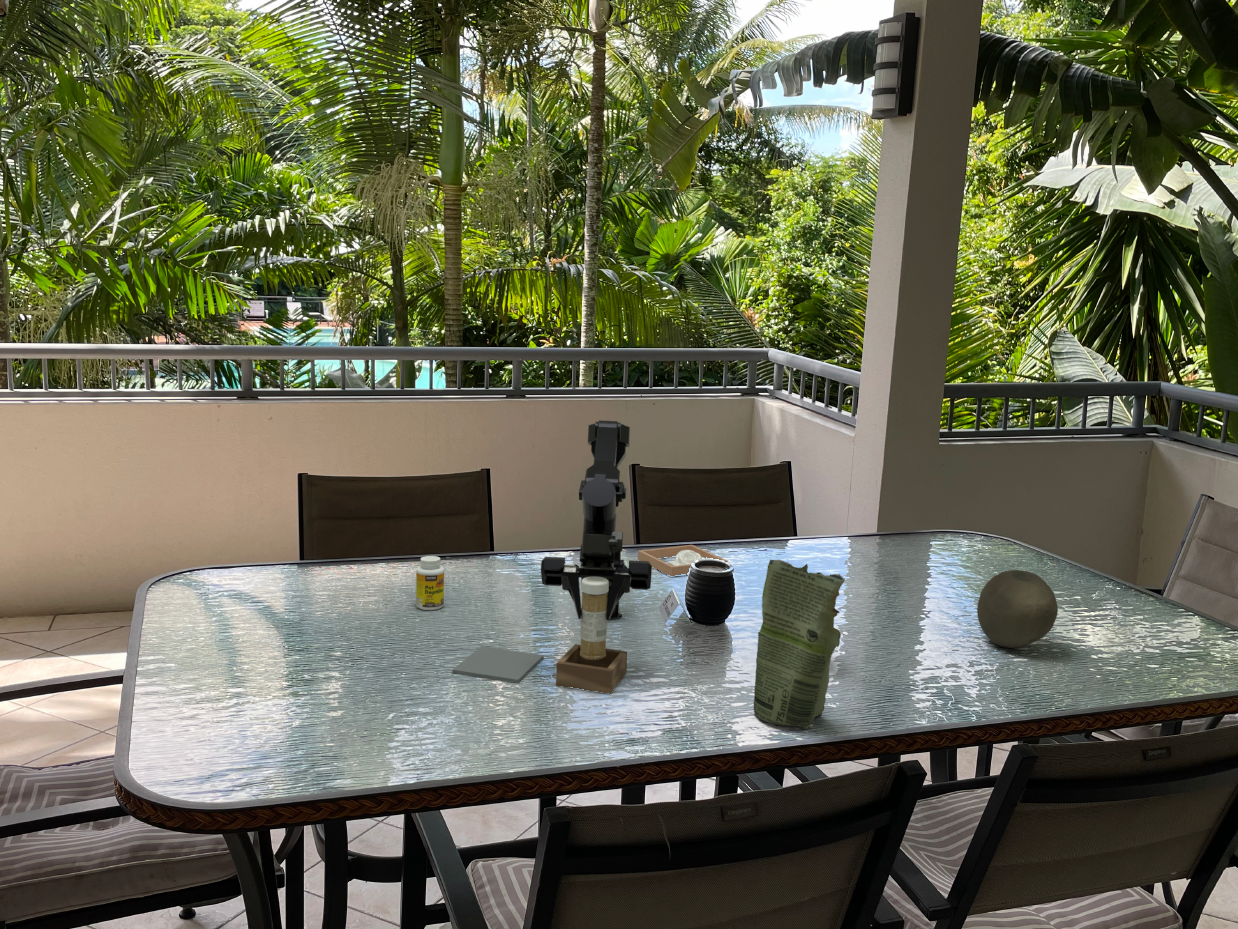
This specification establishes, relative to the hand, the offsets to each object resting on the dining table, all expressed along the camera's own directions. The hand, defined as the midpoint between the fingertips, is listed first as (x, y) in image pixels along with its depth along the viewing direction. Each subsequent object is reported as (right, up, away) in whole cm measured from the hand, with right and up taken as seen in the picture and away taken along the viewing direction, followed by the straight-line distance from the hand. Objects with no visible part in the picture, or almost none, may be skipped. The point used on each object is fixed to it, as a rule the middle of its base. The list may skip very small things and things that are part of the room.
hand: (593, 618), depth 165 cm
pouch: (+31, -14, -9) cm, 35 cm away
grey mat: (-17, -9, +8) cm, 21 cm away
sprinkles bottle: (0, -7, +3) cm, 7 cm away
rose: (+21, 0, +73) cm, 76 cm away
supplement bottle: (-34, -4, +38) cm, 51 cm away
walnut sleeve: (0, -11, +3) cm, 11 cm away
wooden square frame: (+19, +1, +75) cm, 77 cm away
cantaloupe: (+80, -10, +27) cm, 85 cm away
